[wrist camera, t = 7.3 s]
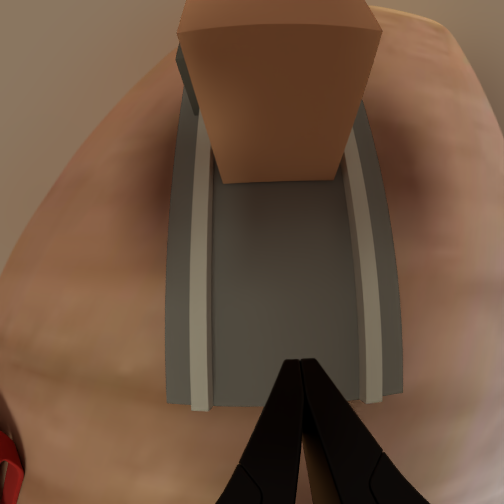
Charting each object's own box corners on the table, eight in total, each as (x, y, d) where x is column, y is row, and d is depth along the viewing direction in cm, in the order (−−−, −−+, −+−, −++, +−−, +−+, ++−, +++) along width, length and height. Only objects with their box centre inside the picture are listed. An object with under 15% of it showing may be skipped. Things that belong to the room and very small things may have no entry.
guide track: (392, 388, 15) (451, 410, 9) (175, 397, 16) (124, 427, 9) (351, 92, 20) (369, 25, 14) (188, 97, 21) (166, 31, 15)
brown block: (333, 180, 17) (382, 31, 7) (223, 183, 17) (176, 33, 7) (321, 111, 18) (344, -30, 8) (225, 114, 18) (194, -27, 8)
